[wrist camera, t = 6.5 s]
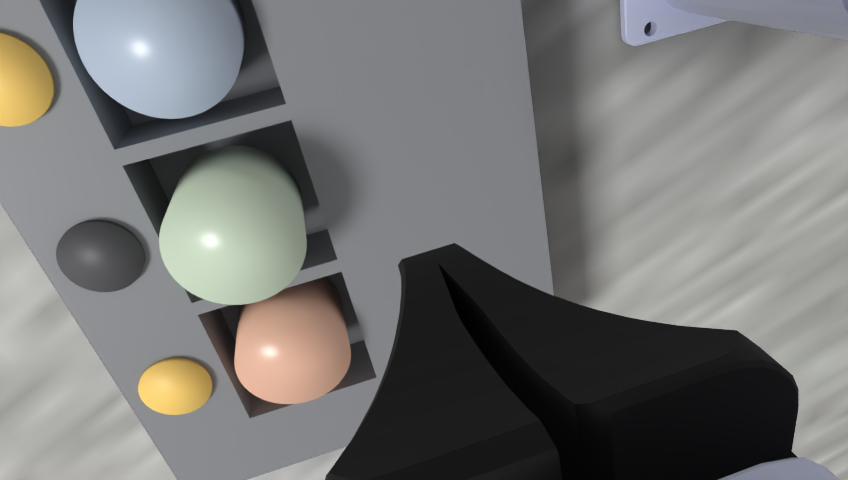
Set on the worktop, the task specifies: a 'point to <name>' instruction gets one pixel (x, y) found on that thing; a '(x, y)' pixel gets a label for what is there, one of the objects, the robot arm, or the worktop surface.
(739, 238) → the worktop surface
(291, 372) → the button terracotta
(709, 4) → the robot arm
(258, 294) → the button sage
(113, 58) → the button slate
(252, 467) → the console
